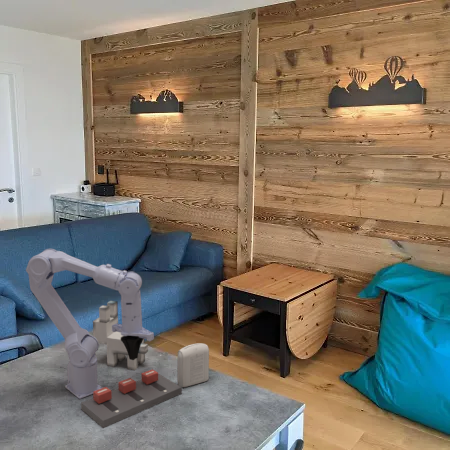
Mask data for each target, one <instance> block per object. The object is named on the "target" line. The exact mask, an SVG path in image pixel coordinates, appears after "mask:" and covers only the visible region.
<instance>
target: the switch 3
mask: <svg viewBox="0 0 450 450" xmlns="http://www.w3.org/2000/svg"><path fill="white" fill-rule="evenodd" d="M158 374H159V372H157V371H156V370H154V369H150V370H147V371H144V372H142V373H141V377H140V378H141V379H142V381H143V382H144V383H146V384H150V383H152V382H155V381H157V380H158Z"/></svg>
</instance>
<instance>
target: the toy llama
mask: <svg viewBox="0 0 450 450" xmlns="http://www.w3.org/2000/svg"><path fill="white" fill-rule="evenodd" d="M118 306H119V305H118V301H117V300H109V301H108V302H106V305H100V307H99V308H98V313H99V314H98V315H99V316H98V317H97V318H96V319H94V320H93V321H92V332H93V333H92V334H93V335H92V336H94V337H95V338H96V339H97V340H98V343H99V345H100V344H101V345H106V362H107V363H106V364H107V367H112V368H116V366H117V365H119V361H121V362H123V360H125V358H126V356H127V359H126V360H127V363H126V364H127V370H128V371H133V372H135V371H136V370H137V369H138V368H139V365H142V364H143V363H144V362H145V361H146V354H147V353H148V351H149V344H148V343H145V340H146V339H143V341H142V343H141V345H140V348H139V352H138V357H137V358H136V359H134V360H131V359H129V355H128V352H127V350H126V347H125V345H124V344H123V342H122V341H121V337H122V335H121V332H117V331H116V332H112V325H114V324H116V323H117V324H119V313H118V312H119V311H118V310H119V308H118Z"/></svg>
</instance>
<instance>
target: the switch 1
mask: <svg viewBox="0 0 450 450" xmlns="http://www.w3.org/2000/svg"><path fill="white" fill-rule="evenodd" d="M112 391H113V390H111V389H110V388H109V387H107V386H104V387H103V388H101V389H99V390H96V391H93V394H92V395H93V400H95V401H96V402H97V403H98V404H100V403H102V402H105V401H107V400H110V399H112Z"/></svg>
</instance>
